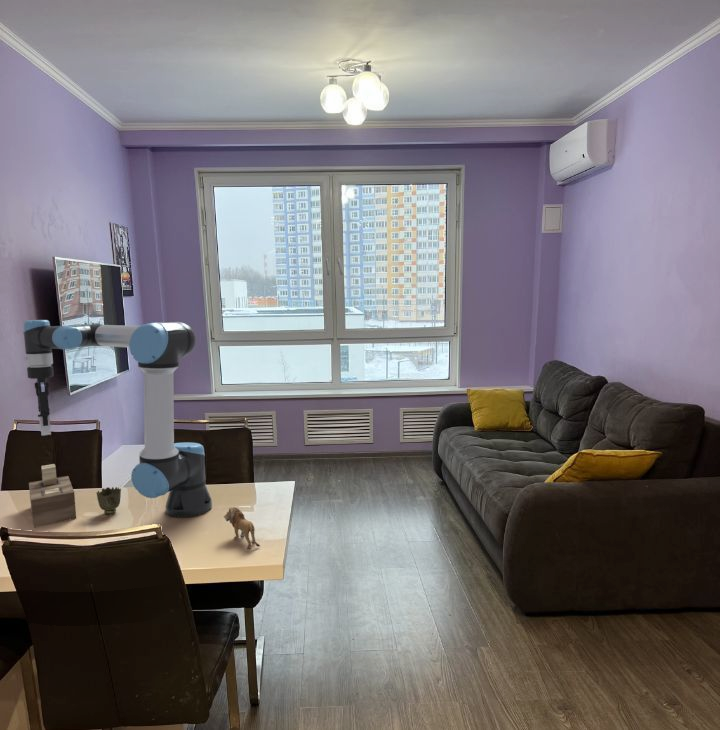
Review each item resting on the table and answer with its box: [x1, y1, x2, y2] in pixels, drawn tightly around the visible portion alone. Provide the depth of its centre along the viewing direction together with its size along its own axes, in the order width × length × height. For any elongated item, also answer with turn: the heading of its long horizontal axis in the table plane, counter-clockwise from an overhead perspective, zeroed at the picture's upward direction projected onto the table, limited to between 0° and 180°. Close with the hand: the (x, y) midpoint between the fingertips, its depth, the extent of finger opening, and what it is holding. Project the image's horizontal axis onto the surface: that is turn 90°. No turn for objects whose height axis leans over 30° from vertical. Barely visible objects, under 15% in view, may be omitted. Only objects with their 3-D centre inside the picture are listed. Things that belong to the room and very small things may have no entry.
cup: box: [95, 486, 122, 516], centre depth 174 cm, size 8×7×8 cm
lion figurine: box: [223, 506, 261, 549], centre depth 153 cm, size 15×5×9 cm, turn 50°
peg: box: [41, 463, 58, 486], centre depth 179 cm, size 4×4×8 cm
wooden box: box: [28, 475, 77, 528], centre depth 175 cm, size 20×12×9 cm, turn 34°
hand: (45, 432), depth 177 cm, fingers open, 6 cm apart
